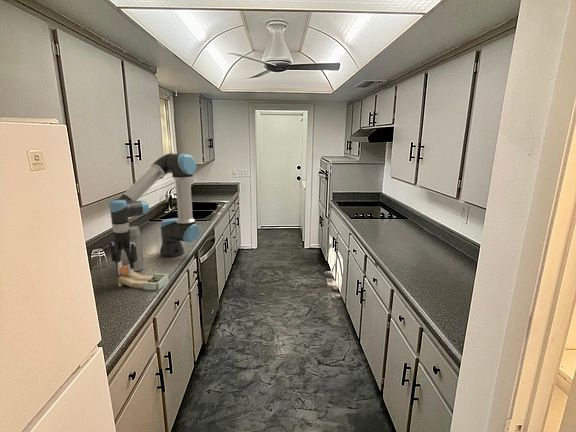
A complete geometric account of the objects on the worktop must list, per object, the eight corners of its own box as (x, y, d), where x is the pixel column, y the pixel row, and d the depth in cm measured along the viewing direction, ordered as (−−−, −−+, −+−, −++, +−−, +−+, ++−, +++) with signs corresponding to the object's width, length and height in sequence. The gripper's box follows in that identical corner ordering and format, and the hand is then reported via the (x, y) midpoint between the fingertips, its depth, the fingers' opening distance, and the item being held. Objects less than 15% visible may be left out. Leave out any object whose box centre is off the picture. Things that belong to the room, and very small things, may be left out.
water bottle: (128, 273, 181) (123, 230, 175) (131, 267, 189) (126, 226, 183) (146, 271, 184) (142, 229, 178) (148, 266, 191) (144, 225, 185)
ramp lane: (129, 278, 174) (128, 269, 173) (154, 280, 173) (153, 271, 172) (118, 286, 165) (117, 277, 164) (144, 288, 163) (143, 279, 162)
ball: (123, 272, 170) (123, 263, 169) (132, 273, 170) (132, 264, 169) (117, 276, 166) (117, 266, 164) (127, 277, 165) (126, 268, 164)
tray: (155, 279, 174) (155, 273, 173) (169, 280, 173) (169, 273, 172) (143, 289, 162) (142, 282, 161) (158, 290, 161) (157, 283, 161)
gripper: (99, 232, 160) (105, 276, 165) (134, 233, 158) (138, 278, 163) (109, 228, 167) (114, 270, 173) (142, 229, 165) (146, 272, 171)
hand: (126, 274), depth 168 cm, fingers open, 5 cm apart
